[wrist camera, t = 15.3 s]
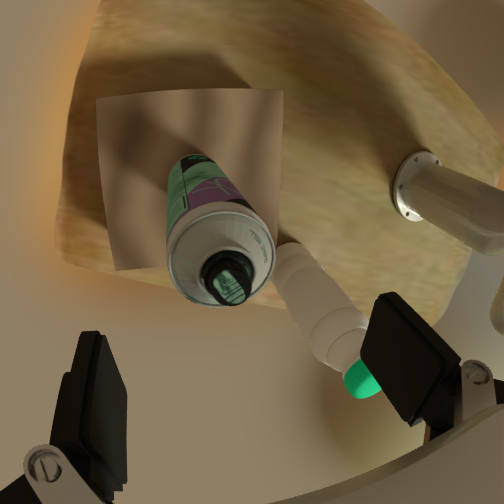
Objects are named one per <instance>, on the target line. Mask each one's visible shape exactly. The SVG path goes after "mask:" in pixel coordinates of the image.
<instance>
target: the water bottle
mask: <svg viewBox="0 0 504 504" xmlns="http://www.w3.org/2000/svg"><path fill="white" fill-rule="evenodd" d="M270 280H271V281H272V283H273V284H274V285H275V286H276V289H277V291H278V293H279V295H280V296H281V298H282V299H283V300H284V301H285V303H286V305H287V308H288V310H289V312H290V314H291V316H292V317H293V319H294V321H295V323H296V324H297V326H298V328H299V329H300V331H301V332H302V334H303V336H304V337H305V339H306V340H307V341H308V343H309V344H310V348H311V350H312V352H313V354H314V356H315V357H316V358H317V359H318V360H319V361H321V362H322V363H324V364H326V365H329V366H331V367H332V368H333V369H335V370H338V371H341V372H342V373H343V380H344V383H345V386H346V388H347V390H348V391H349V393H350V394H351V395H352V396H353V397H356V398H366V397H369V396H372V395H373V394H375V393H377V392H378V391H379V390H381V387H380V386H379V384H378V383H377V381H376V380H375V378H374V377H373V376H372V374H371V373H370V371H369V370H368V368H367V367H366V365H365V364H364V363H363V361H362V360H361V357H360V350H361V346H362V343H363V340H364V337H365V334H366V331H367V327H368V324H369V320H368V319H367V317H366V316H365V314H364V313H362V312H361V311H360V310H358V309H357V307H356V306H355V304H354V303H353V302H352V300H351V299H350V298H349V296H348V295H347V294H346V293H345V292H344V290H343V289H342V288H341V287H340V286H339V285H338V284H337V283H336V281H335V280H334V279H333V278H332V277H331V276H330V275H328V274H327V273H326V272H325V270H324V268H323V267H322V266H321V264H320V263H319V262H318V261H317V260H316V259H314V257H313V256H312V254H311V253H310V252H309V251H308V250H307V249H306V248H305V247H304V246H303V245H301V244H298V243H286V244H283V245H281V246H279V247H277V253H276V255H275V264H274V269H273V271H272V274H271V276H270Z"/></svg>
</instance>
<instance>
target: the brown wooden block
mask: <svg viewBox="0 0 504 504" xmlns="http://www.w3.org/2000/svg"><path fill="white" fill-rule="evenodd" d="M283 99H284V90H268V89H240V88H209V89H181V90H166V91H153V92H143V93H133V94H125V95H117V96H110V97H104V98H97V99H96V127H97V143H98V156H99V167H100V176H101V185H102V193H103V201H104V208H105V215H106V222H107V228H108V234H109V239H110V245H111V250H112V256H113V261H114V266H115V270H116V271H120V270H130V269H141V268H151V267H162V266H167V261H166V220H167V190H168V177H169V173H170V171H171V169H172V167H173V166H174V164H175V163H176V162H177V161H178V160H180V159H181V158H183V157H185V156H188V155H192V154H201V155H204V156H207V157H209V158H211V159H212V160H213V161H215V162H216V164H217V165H218V166H219V167H220V168H221V170H222V171H223V172H224V173H225V175H226V176H227V177H228V178H229V180H230V181H231V182H232V183H233V184H234V186H235V187H236V188H237V189H238V191H239V192H240V193H241V194H242V196H243V197H244V198H245V199H246V201H247V202H248V203H249V204H250V206H251V207H252V208H253V209H254V211H255V212H256V213H257V214H258V216H259V217H260V218H261V219H262V221H263V222H264V223H265V225H266V226H267V228H268V230H269V232H270V234H271V237H272V240H273V242H274V246H275V255H276V253H277V236H278V218H279V199H280V178H281V155H282V130H283Z"/></svg>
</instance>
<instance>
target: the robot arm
mask: <svg viewBox="0 0 504 504" xmlns="http://www.w3.org/2000/svg"><path fill="white" fill-rule="evenodd" d="M393 198H394V203H395V207H396V209H397V211H398V212H399V213H400V215H401V216H403V217H404V218H406V219H407V220H409V221H413V222H417V221H422V220H424V219H425V220H427V221H429V222H430V223H432V224H434V225H435V226H437V227H439V228H440V229H442V230H444V231H445V232H447V233H449V234H450V235H452V236H453V237H455V238H457V239H458V240H460V241H461V242H463V243H465V244H466V245H468V246H469V247H471V248H472V249H474V250H476V251H477V252H479V253H481V254H483V255H487V256H495V255H499V254H503V253H504V191H502V190H500V189H498V188H496V187H493V186H491V185H488V184H486V183H484V182H481V181H479V180H477V179H474V178H472V177H469V176H467V175H464V174H462V173H459V172H456V171H454V170H451V169H449V168H446V167H443V165H442V163H441V161H440V160H439V158H438V157H437V156H435V155H434V154H432V153H430V152H426V151H418V152H415V153H413V154H411V155H410V156H408V157H407V158H406V159H405V160H404V162H403V163H402V165H401V166H400V168H399V170H398V172H397V174H396V177H395V181H394V186H393ZM490 320H491V323H492V325H493V327H494V328H495V330H496V331H497V332H498V333H499V334H500V335H501V336H502V337H504V276H503V279H502V281H501V284H500V286H499V289H498V291H497V293H496V295H495V297H494V300H493V302H492V305H491V309H490ZM360 357H361V360H362V361H363V363H364V364H365V365H366V367H367V368H368V370H369V371H370V373H371V374H372V376H373V377H374V378H375V380H376V381H377V383H378V384H379V386H380V387H381V389H382V390H383V392H384V393H385V394H386V396H387V397H388V399H389V400H390V402H391V403H392V405H393V406H394V408H395V409H396V411H397V412H398V413H399V415H400V417H401V418H402V419H403V421H406V422H408V424H409V425H410V427H412V426H414V425H416V424H418V423H420V422H422V420H424V421H425V422H426V426H425V434H424V442H423V446H420V447H419V448H417V449H415V450H413V451H411V452H409V453H407V454H405V455H403V456H401V457H399V458H397V459H395V460H393V461H391V462H389V463H386V464H384V465H382V466H380V467H378V468H375V469H373V470H371V471H368V472H366V473H363V474H361V475H359V476H356V477H353V478H351V479H348V480H346V481H343V482H340V483H338V484H335V485H332V486H329V487H326V488H323V489H320V490H317V491H313V492H310V493H307V494H303V495H300V496H296V497H293V498H289V499H285V500H281V501H277V502H273V503H269V504H504V381H501V380H496V379H493V375H492V372H491V370H490V369H489V368H488V367H487V366H486V365H485V364H484V363H482V362H480V361H477V360H467V361H466V362H464V363H463V365H462V366H460V365H459V363H460V361H461V358H460V357H459V356H458V355H457V354H456V353H455V351H454V350H453V349H452V348H451V347H450V346H449V345H448V344H447V343H446V342H445V341H444V340H443V339H442V338H441V337H440V336H439V335H438V334H437V333H436V332H435V331H434V330H433V329H432V328H431V327H430V326H429V325H428V323H427V322H426V321H425V320H424V319H423V318H422V317H421V316H420V315H419V314H418V313H417V312H416V311H414V310H413V309H412V308H411V307H410V306H409V305H408V304H407V303H406V302H405V301H404V300H403V299H402V298H401V297H400V296H399V295H398V294H397V293H396V292H388V293H384V294H380V295H379V296H378V299H376V300H375V303H374V307H373V310H372V314H371V317H370V321H369V324H368V327H367V331H366V334H365V337H364V340H363V343H362V346H361V350H360ZM126 428H127V391H126V388H125V385H124V383H123V381H122V378H121V375H120V373H119V370H118V368H117V365H116V363H115V360H114V357H113V355H112V352H111V349H110V346H109V344H108V341H107V338H106V336H105V335H101V334H100V332H99V331H83V332H81V334H80V337H79V340H78V344H77V348H76V352H75V356H74V359H73V363H72V368H71V372H66V373H65V374H64V375H63V378H62V382H61V386H60V391H59V395H58V400H57V404H56V409H55V414H54V420H53V425H52V430H51V436H50V443H49V445H47V444H44V445H38V446H36V447H34V448H32V449H31V450H30V451H29V452H28V453H27V455H26V457H25V459H24V463H23V467H24V474H23V475H22V476H21V477H19V478H18V479H16V480H15V481H14V482H12V483H11V484H10V485H8V486H7V487H6V488H4V489H3V490H1V491H0V504H114V503H113V502H112V501H113V500H114V491H123V486H122V484H126V483H127V452H126V451H127V450H126V449H127V448H126V446H127V445H126V431H127V429H126Z"/></svg>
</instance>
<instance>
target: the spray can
mask: <svg viewBox="0 0 504 504" xmlns="http://www.w3.org/2000/svg"><path fill="white" fill-rule="evenodd" d="M166 261H167V266H168V270H169V273H170V277H171V279H172V281H173V284H174V285H175V287H176V288H177V289H178V291H179V292H180V293H181V294H182V295H183V296H185V297H186V298H187V299H189V300H190V301H192V302H194V303H196V304H199V305H202V306H206V307H212V308H223V307H229V306H236V305H239V304H241V303H243V302H245V301H246V300H248V299H250V298H251V297H253V296H254V295H255V294H257V293H258V292H259V291H260V290H261V289H262V288H263V287H264V286H265V284H266V283H267V281H268V280H269V278H270V276H271V274H272V271H273V269H274V264H275V246H274V242H273V240H272V237H271V234H270V232H269V230H268V228H267V226H266V225H265V223H264V222H263V221H262V219H261V218H260V217H259V216H258V214H257V213H256V212H255V211H254V209H253V208H252V207H251V206H250V204H249V203H248V202H247V201H246V199H245V198H244V197H243V196H242V194H241V193H240V192H239V191H238V189H237V188H236V187H235V186H234V184H233V183H232V182H231V181H230V180H229V178H228V177H227V176H226V175H225V173H224V172H223V171H222V170H221V168H220V167H219V166H218V165H217V164H216V162H215V161H213V160H212V159H211V158H209V157H207V156H204V155H201V154H192V155H188V156H185V157H183V158H181V159H180V160H178V161H177V162H176V163H175V164H174V166H173V167H172V169H171V171H170V173H169V177H168V190H167V220H166Z"/></svg>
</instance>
